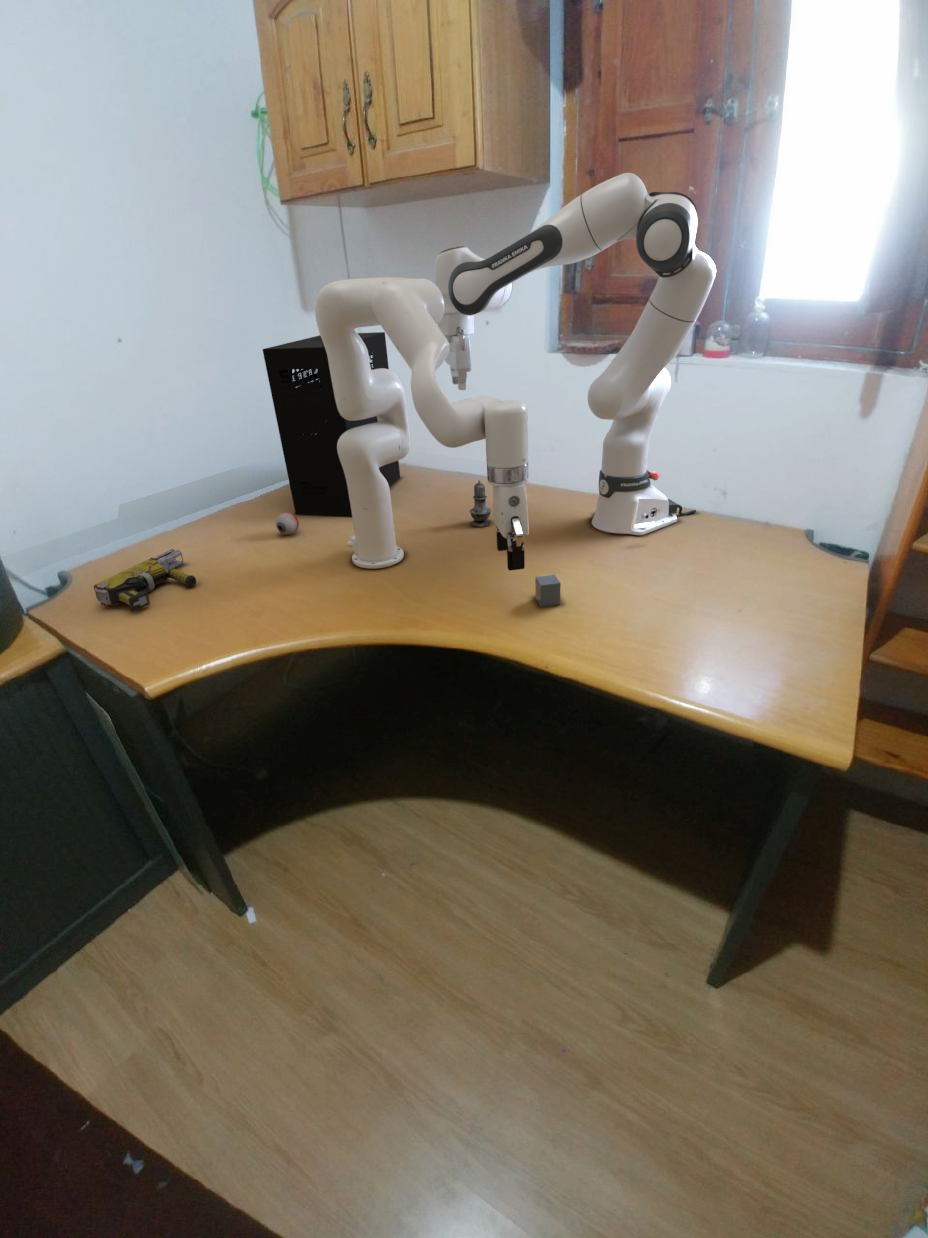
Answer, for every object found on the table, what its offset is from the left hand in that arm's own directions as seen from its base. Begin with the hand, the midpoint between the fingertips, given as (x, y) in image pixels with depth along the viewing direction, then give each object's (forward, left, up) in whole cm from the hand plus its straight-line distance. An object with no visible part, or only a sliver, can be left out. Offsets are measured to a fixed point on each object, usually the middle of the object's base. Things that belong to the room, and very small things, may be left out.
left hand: (510, 559), depth 118 cm
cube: (+5, +6, -11) cm, 13 cm away
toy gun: (-75, -31, -11) cm, 82 cm away
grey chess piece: (-31, +37, -11) cm, 49 cm away
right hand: (-37, +39, +24) cm, 59 cm away
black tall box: (-82, +40, -11) cm, 91 cm away
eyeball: (-74, +6, -11) cm, 75 cm away
